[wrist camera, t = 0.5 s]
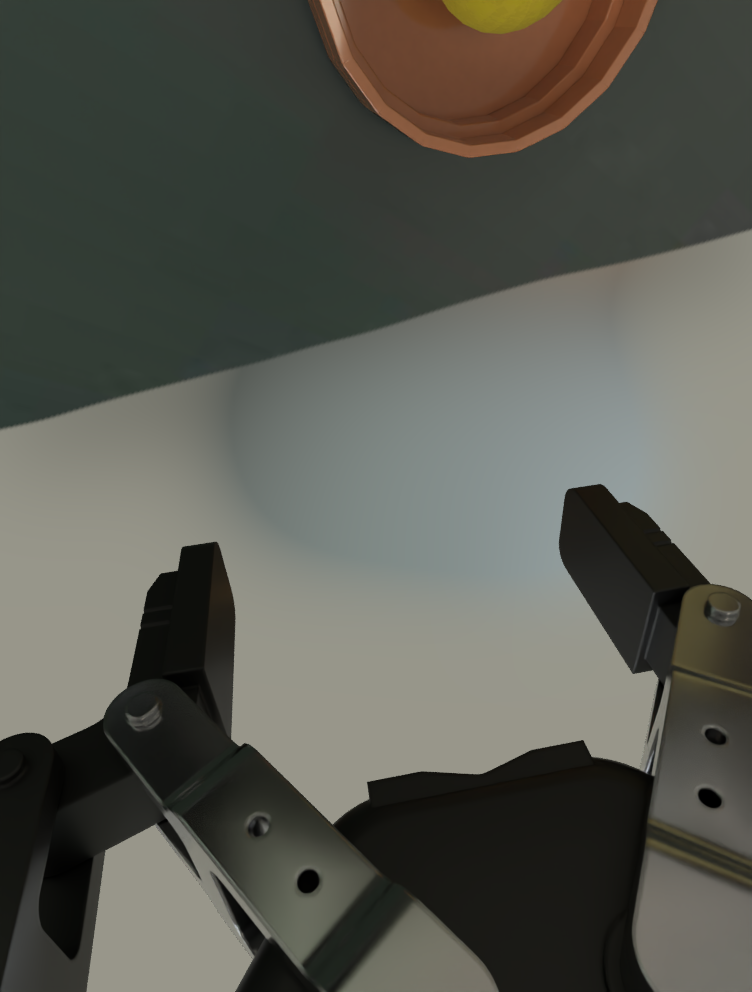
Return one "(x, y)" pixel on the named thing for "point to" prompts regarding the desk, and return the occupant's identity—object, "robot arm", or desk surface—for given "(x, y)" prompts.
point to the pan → (478, 68)
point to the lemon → (500, 13)
